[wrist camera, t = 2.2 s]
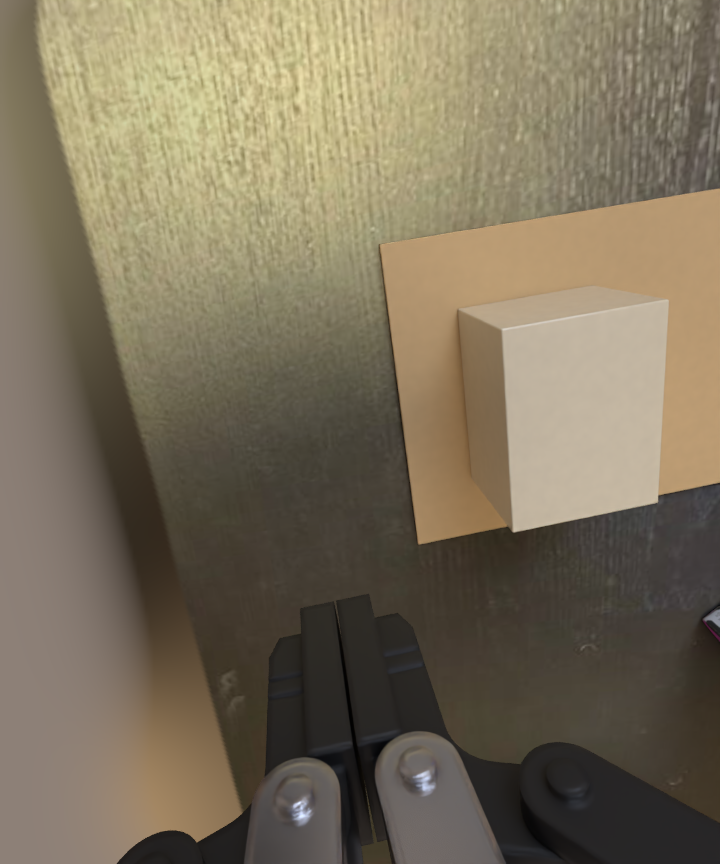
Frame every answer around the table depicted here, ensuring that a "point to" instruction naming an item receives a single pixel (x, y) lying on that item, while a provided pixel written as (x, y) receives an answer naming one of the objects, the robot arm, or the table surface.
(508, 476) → the cream cardboard carton
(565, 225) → the runner
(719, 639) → the candy bar box
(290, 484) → the table surface
